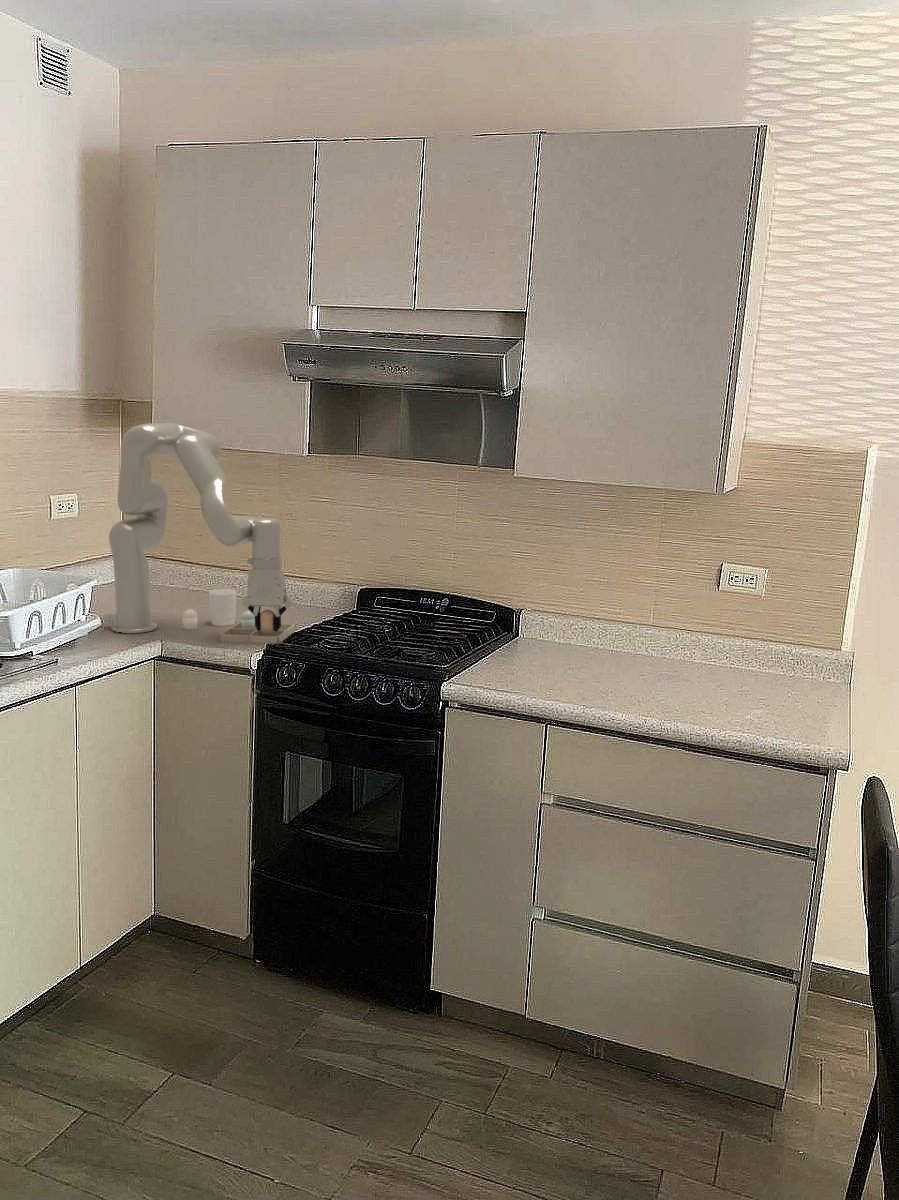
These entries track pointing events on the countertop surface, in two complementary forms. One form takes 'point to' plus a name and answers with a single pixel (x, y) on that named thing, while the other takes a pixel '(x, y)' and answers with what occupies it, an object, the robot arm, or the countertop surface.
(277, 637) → the egg tray
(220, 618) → the white cup
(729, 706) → the countertop surface
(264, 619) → the brown egg
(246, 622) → the green egg
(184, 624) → the white egg
